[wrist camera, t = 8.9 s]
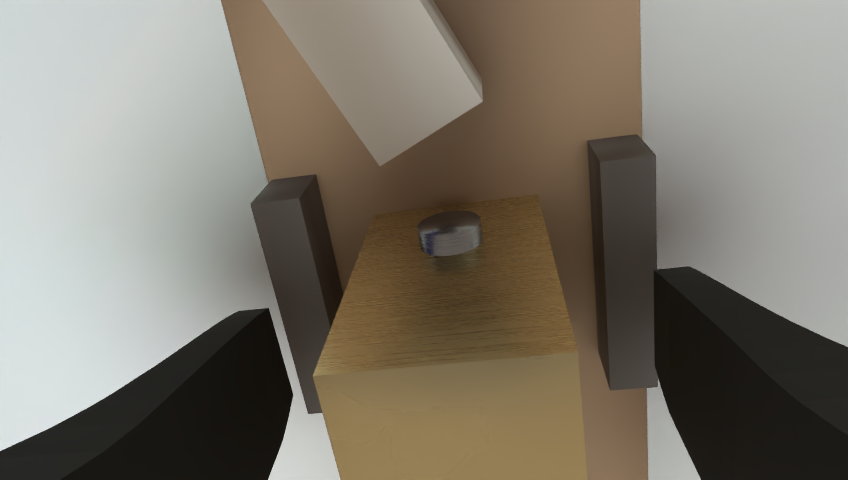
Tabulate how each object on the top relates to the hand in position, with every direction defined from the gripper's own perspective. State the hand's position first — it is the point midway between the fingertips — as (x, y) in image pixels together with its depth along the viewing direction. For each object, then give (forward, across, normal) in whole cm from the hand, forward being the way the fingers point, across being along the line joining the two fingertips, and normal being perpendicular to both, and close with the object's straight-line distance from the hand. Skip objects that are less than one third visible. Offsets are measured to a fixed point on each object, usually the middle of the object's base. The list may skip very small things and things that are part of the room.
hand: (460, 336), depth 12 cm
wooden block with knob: (+3, 0, 0) cm, 3 cm away
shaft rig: (+4, 0, 0) cm, 4 cm away
